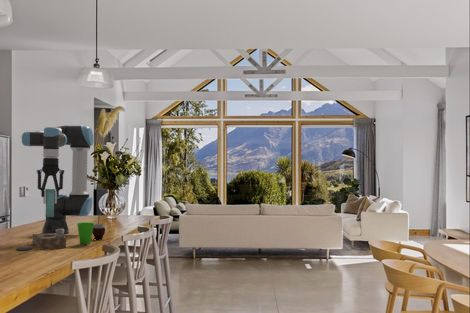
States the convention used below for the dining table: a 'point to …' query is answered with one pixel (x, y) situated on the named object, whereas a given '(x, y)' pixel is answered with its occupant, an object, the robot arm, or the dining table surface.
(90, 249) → the dining table surface
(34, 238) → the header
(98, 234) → the mate gourd
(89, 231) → the cup
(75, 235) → the dining table surface
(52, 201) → the teal tall cylinder
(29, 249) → the coaster
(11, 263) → the dining table surface
